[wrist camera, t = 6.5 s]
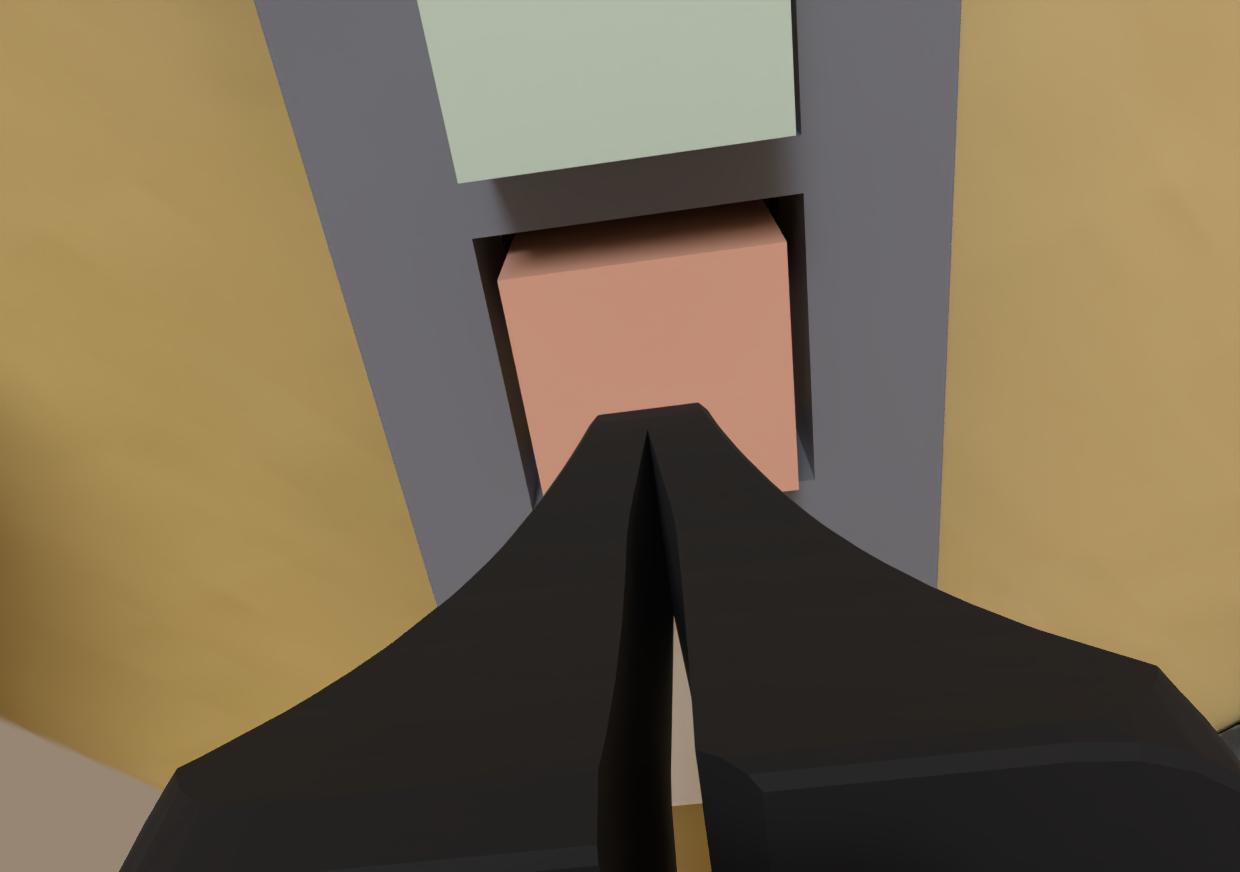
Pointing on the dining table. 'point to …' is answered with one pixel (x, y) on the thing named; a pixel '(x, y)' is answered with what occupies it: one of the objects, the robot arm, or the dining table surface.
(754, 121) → the key sage
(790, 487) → the key terracotta
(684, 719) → the key ivory
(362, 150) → the keypad board
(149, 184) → the dining table surface
